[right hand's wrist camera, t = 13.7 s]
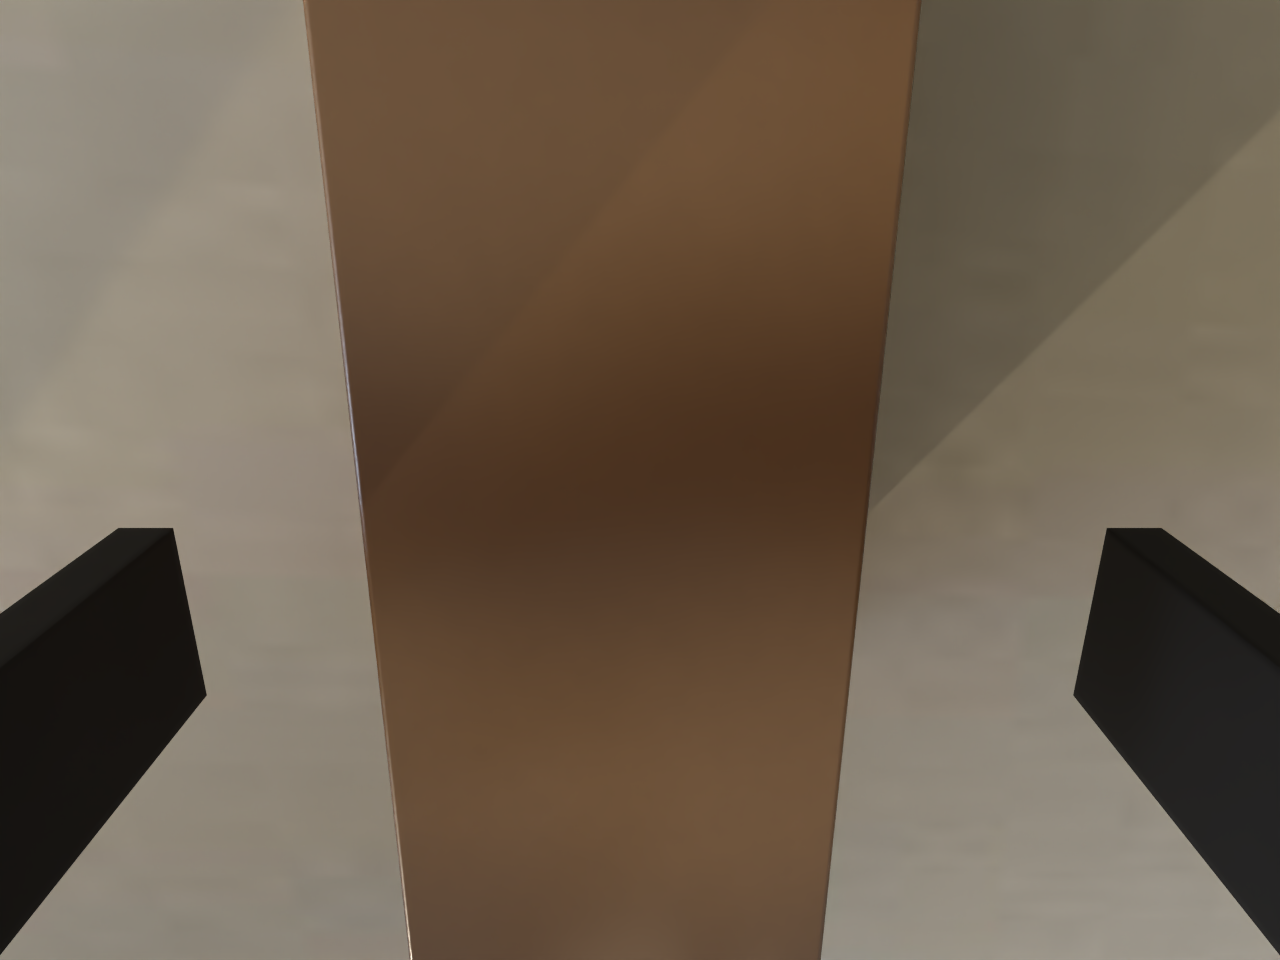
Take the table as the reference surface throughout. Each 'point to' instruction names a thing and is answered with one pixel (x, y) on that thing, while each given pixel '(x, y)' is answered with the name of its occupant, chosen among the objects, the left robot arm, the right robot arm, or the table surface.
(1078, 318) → the table surface
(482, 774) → the bar
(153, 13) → the table surface
